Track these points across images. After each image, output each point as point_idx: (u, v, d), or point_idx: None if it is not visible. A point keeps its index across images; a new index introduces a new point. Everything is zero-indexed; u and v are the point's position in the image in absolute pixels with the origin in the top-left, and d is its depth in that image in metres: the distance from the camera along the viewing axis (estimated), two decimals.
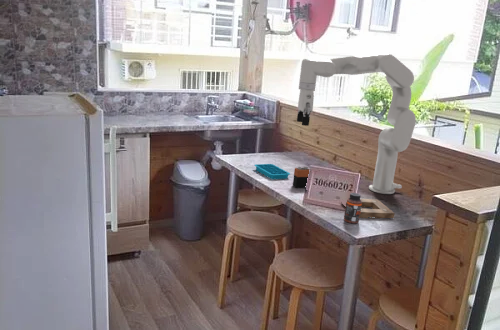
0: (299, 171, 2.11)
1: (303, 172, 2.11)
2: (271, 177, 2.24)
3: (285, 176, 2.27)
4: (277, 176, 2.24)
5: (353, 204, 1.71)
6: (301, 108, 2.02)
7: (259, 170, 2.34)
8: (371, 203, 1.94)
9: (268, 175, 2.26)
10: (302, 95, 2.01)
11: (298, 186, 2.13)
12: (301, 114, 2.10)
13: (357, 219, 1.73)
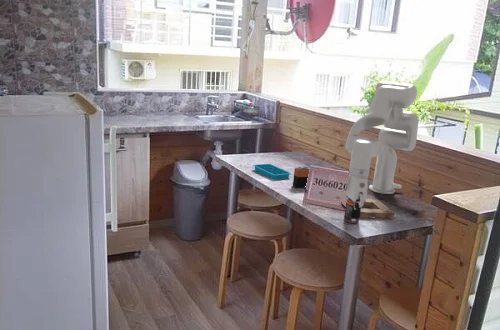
0: (299, 171, 2.11)
1: (303, 172, 2.11)
2: (273, 177, 2.24)
3: (286, 176, 2.27)
4: (279, 176, 2.25)
5: (353, 204, 1.71)
6: (352, 197, 1.70)
7: (259, 170, 2.34)
8: (371, 203, 1.94)
9: (270, 175, 2.26)
10: (354, 183, 1.69)
11: (298, 186, 2.13)
12: None
13: (357, 219, 1.73)
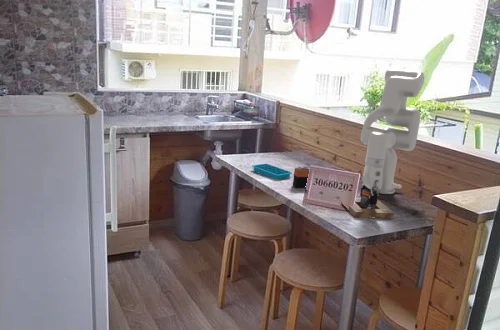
0: (299, 171, 2.11)
1: (303, 172, 2.11)
2: (276, 177, 2.24)
3: (288, 175, 2.29)
4: (281, 176, 2.25)
5: (368, 194, 1.85)
6: (368, 185, 1.84)
7: (259, 171, 2.33)
8: None
9: (272, 175, 2.26)
10: (370, 171, 1.82)
11: (298, 186, 2.13)
12: None
13: (372, 208, 1.87)
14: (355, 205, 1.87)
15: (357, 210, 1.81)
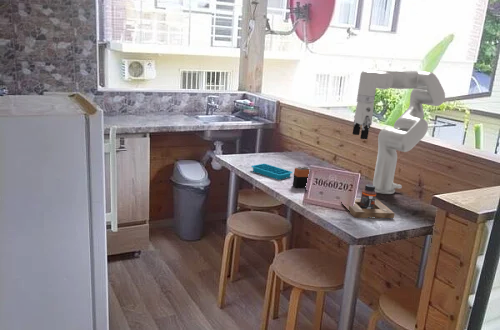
0: (299, 171, 2.11)
1: (303, 172, 2.11)
2: (278, 177, 2.24)
3: (288, 175, 2.29)
4: (283, 176, 2.26)
5: (368, 194, 1.85)
6: (359, 121, 1.97)
7: (259, 171, 2.32)
8: None
9: (273, 176, 2.26)
10: (361, 108, 1.96)
11: (298, 186, 2.13)
12: (357, 127, 2.06)
13: (372, 208, 1.87)
14: (355, 205, 1.87)
15: (357, 210, 1.81)
